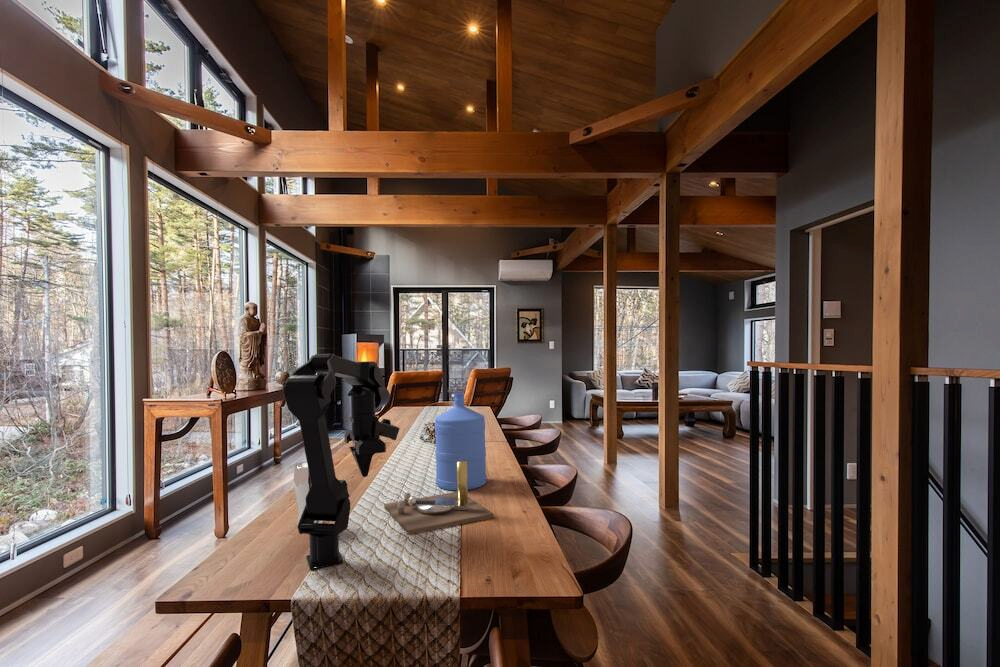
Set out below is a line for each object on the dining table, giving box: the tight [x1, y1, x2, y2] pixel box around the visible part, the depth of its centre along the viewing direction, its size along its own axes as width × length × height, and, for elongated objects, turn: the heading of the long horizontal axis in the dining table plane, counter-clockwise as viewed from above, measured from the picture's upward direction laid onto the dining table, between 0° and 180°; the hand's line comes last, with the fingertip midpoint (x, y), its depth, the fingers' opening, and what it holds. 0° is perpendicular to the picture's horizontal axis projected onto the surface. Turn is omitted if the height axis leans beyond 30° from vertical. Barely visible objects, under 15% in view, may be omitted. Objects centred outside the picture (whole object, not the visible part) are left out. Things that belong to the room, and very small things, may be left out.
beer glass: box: [293, 461, 324, 528], centre depth 129 cm, size 7×7×15 cm
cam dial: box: [408, 461, 469, 514], centre depth 135 cm, size 16×10×12 cm, turn 81°
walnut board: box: [383, 491, 494, 535], centre depth 135 cm, size 22×22×4 cm
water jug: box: [434, 392, 488, 491], centre depth 161 cm, size 16×16×28 cm
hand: (364, 476), depth 127 cm, fingers closed
